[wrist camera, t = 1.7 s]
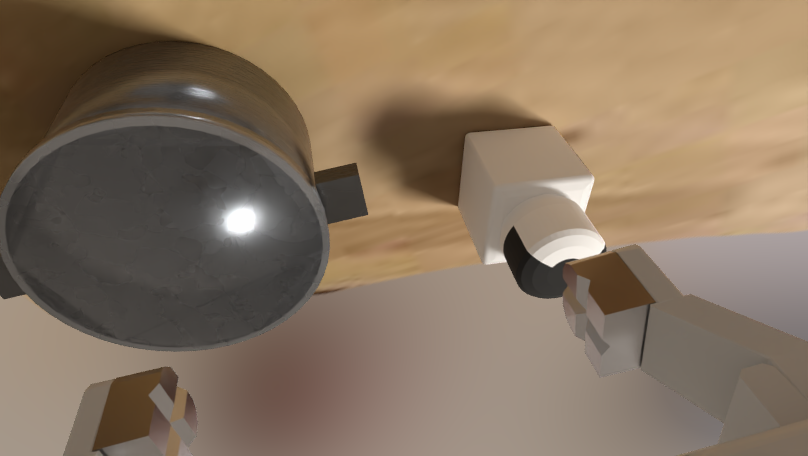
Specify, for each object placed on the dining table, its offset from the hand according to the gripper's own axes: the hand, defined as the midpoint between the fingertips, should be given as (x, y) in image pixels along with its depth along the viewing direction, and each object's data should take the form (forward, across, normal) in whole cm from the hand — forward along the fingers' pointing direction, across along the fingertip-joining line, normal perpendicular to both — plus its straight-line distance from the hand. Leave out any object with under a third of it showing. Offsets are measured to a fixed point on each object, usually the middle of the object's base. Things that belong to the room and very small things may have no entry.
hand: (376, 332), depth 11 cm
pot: (+28, +10, +8) cm, 31 cm away
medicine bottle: (+29, -12, +16) cm, 35 cm away
